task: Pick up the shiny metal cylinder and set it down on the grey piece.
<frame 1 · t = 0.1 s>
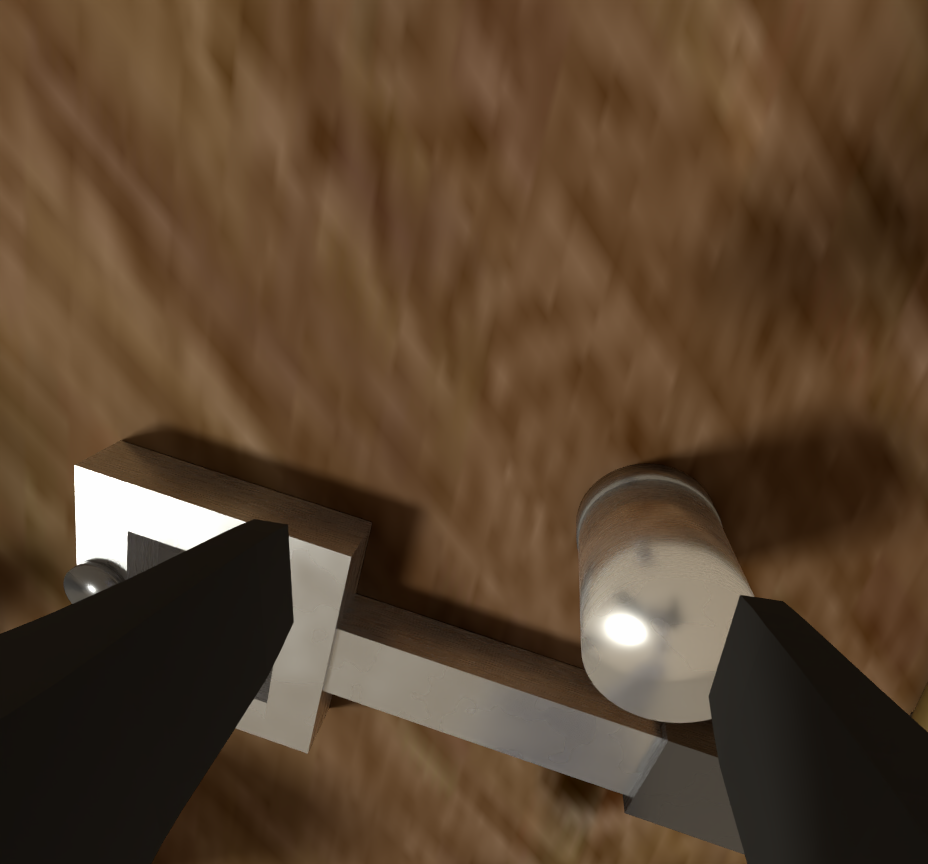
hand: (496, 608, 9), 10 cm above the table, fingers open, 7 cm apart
shiny metal cylinder: (644, 524, 19), on the table
grey piece: (232, 584, 23), on the table
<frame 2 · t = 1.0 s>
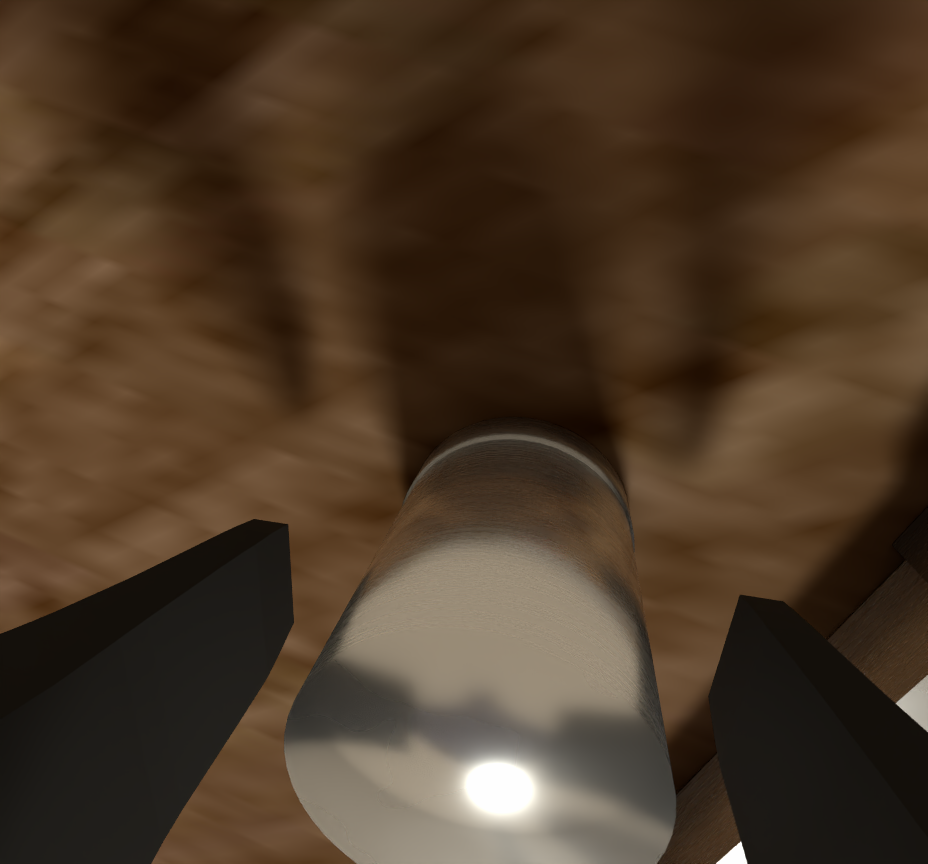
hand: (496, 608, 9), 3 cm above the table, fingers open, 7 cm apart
shiny metal cylinder: (517, 518, 12), on the table
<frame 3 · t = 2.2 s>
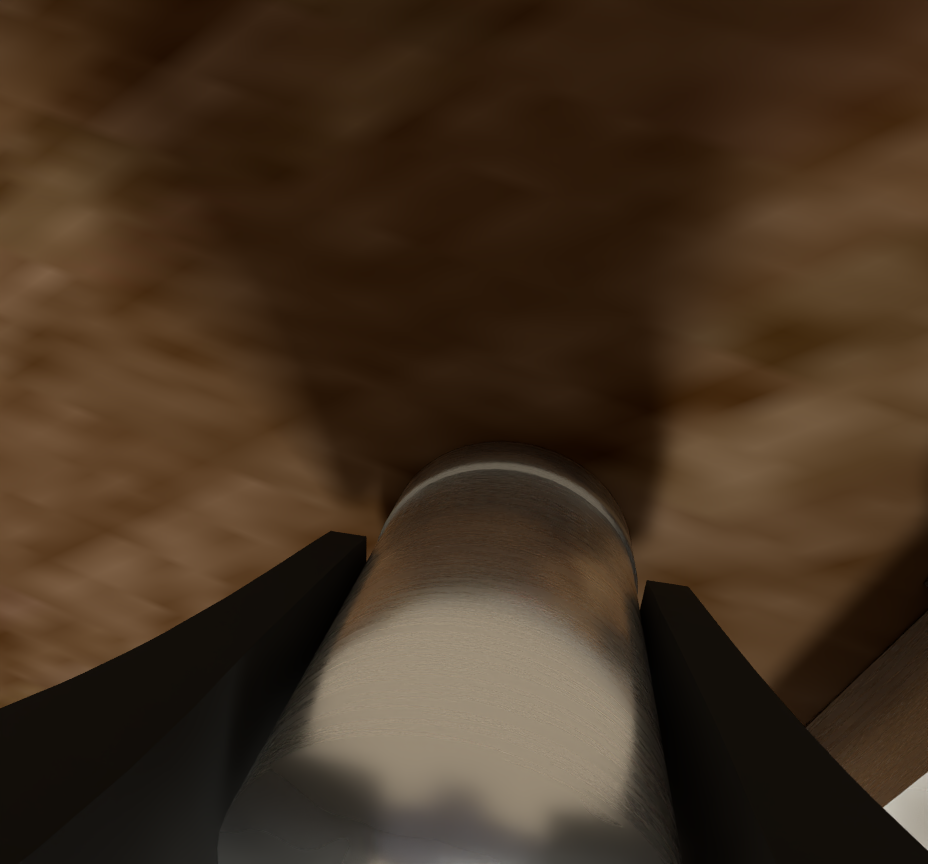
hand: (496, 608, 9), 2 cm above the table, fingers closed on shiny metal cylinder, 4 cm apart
shiny metal cylinder: (506, 552, 11), on the table, touching gripper
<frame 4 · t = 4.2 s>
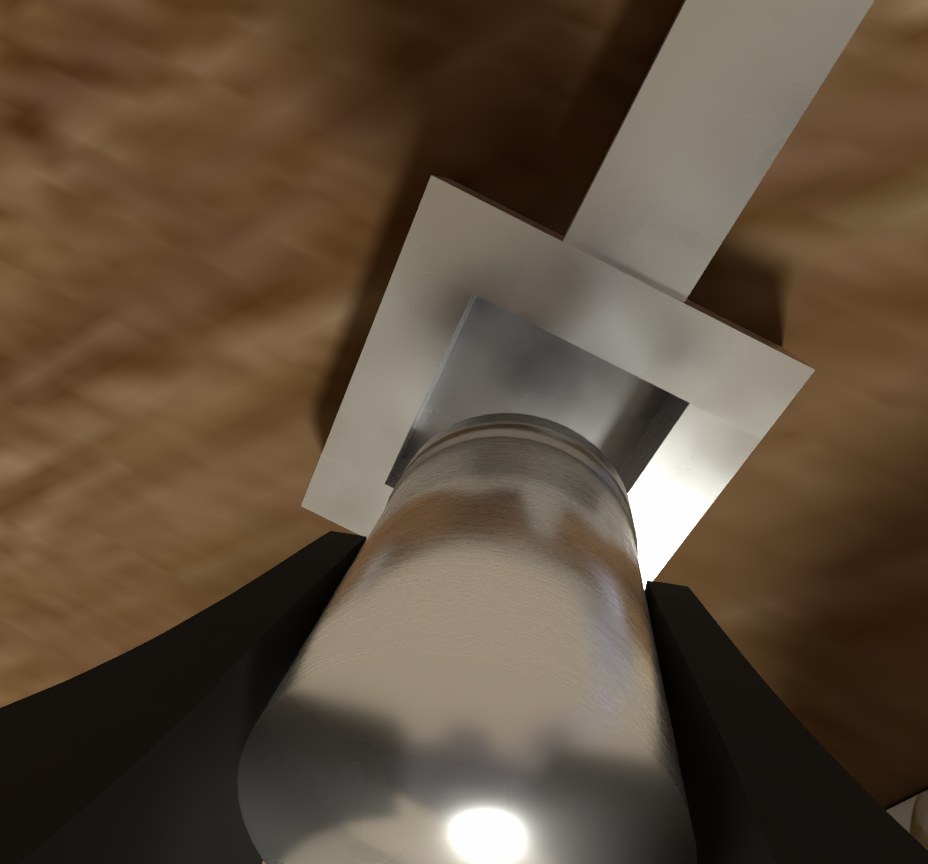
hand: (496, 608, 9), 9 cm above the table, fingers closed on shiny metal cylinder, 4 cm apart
shiny metal cylinder: (510, 523, 11), point 7 cm above the table, touching gripper
grey piece: (530, 417, 17), on the table
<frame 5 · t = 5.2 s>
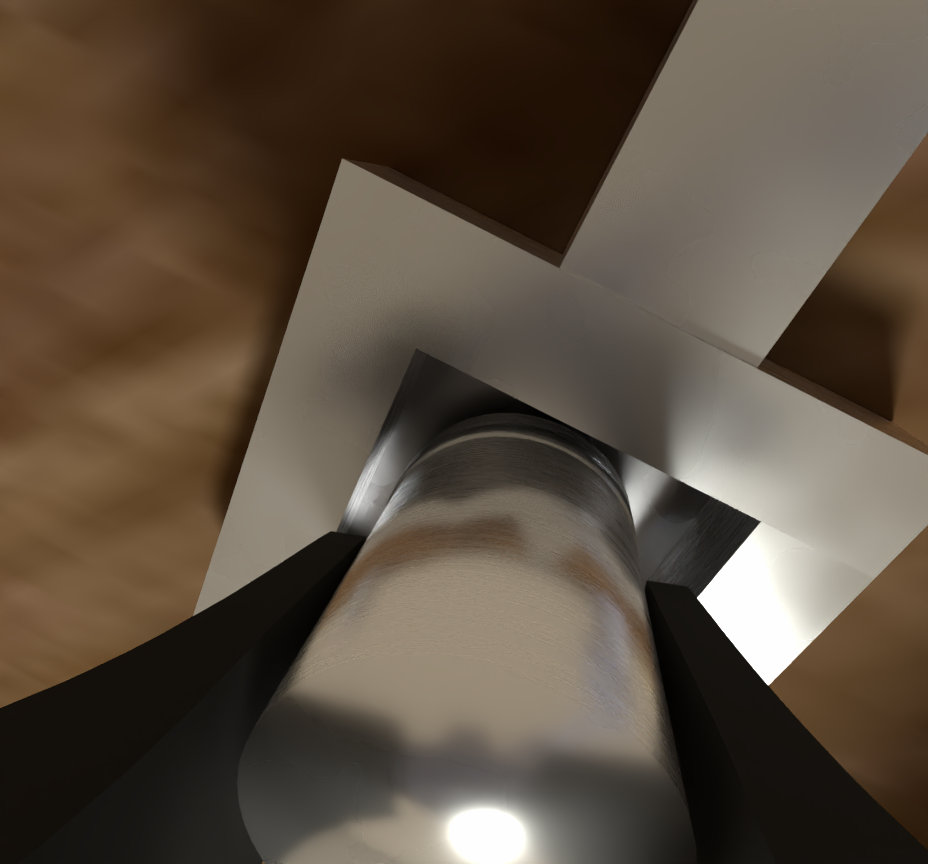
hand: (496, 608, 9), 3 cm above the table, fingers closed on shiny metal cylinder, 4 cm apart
shiny metal cylinder: (510, 524, 11), point 1 cm above the table, touching gripper
grey piece: (514, 511, 12), on the table
when the fingers open (3 cm above the table, at t = 6.1 s): shiny metal cylinder stays where it is, resting on grey piece.
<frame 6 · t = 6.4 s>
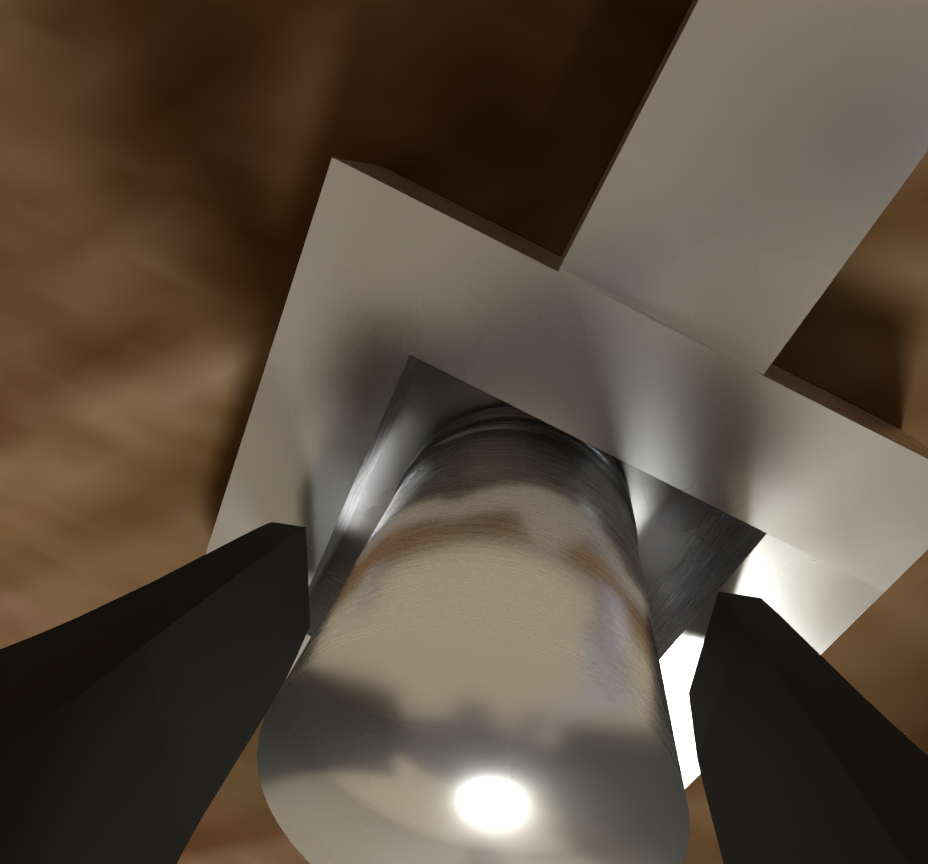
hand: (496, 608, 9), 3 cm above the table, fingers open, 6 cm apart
shiny metal cylinder: (513, 514, 11), resting on grey piece
grey piece: (512, 520, 12), on the table
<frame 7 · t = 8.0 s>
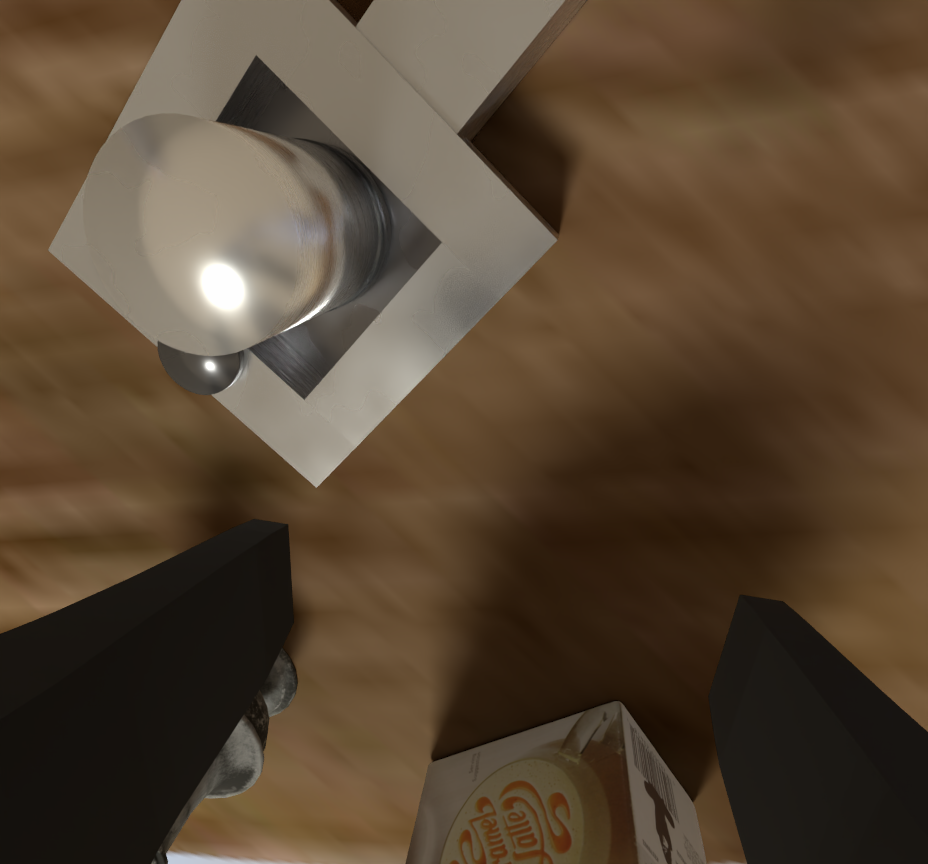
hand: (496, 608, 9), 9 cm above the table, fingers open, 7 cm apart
coffee box: (559, 776, 24), on the table
shiny metal cylinder: (315, 228, 16), resting on grey piece
grey piece: (316, 240, 17), on the table
grey figurine: (240, 665, 25), on the table
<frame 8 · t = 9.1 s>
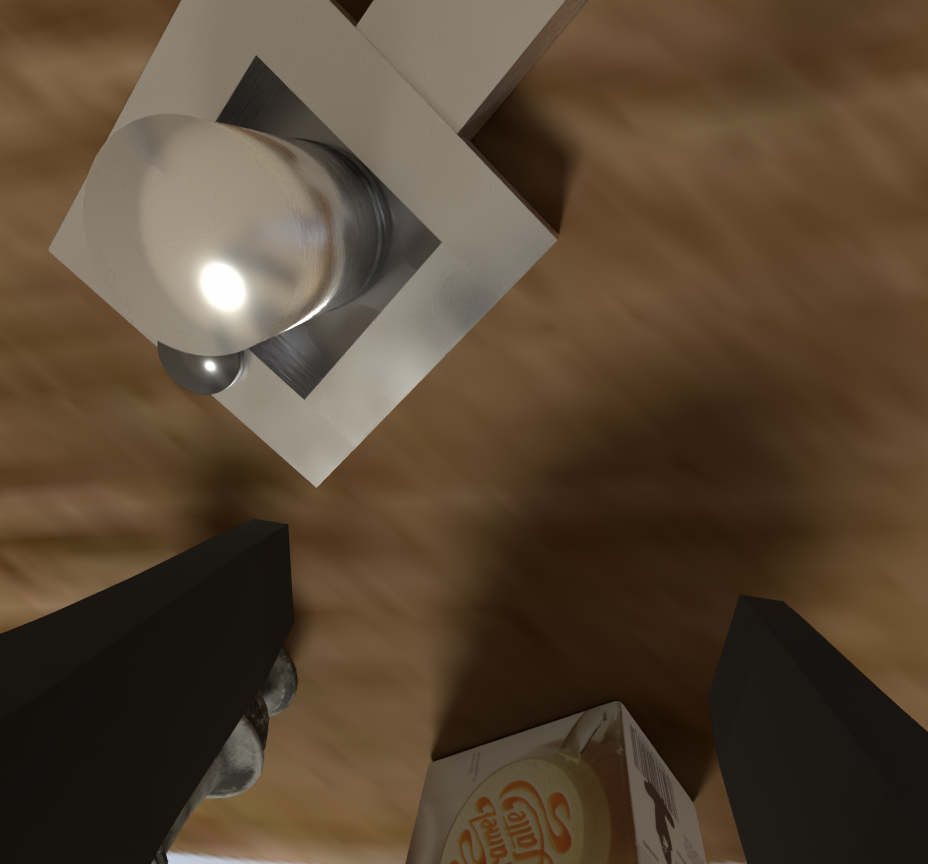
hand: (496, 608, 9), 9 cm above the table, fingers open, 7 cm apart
coffee box: (559, 776, 24), on the table
shiny metal cylinder: (315, 228, 16), resting on grey piece
grey piece: (316, 240, 17), on the table
grey figurine: (240, 665, 25), on the table
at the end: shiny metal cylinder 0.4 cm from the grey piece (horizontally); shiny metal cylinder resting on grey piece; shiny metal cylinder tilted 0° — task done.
